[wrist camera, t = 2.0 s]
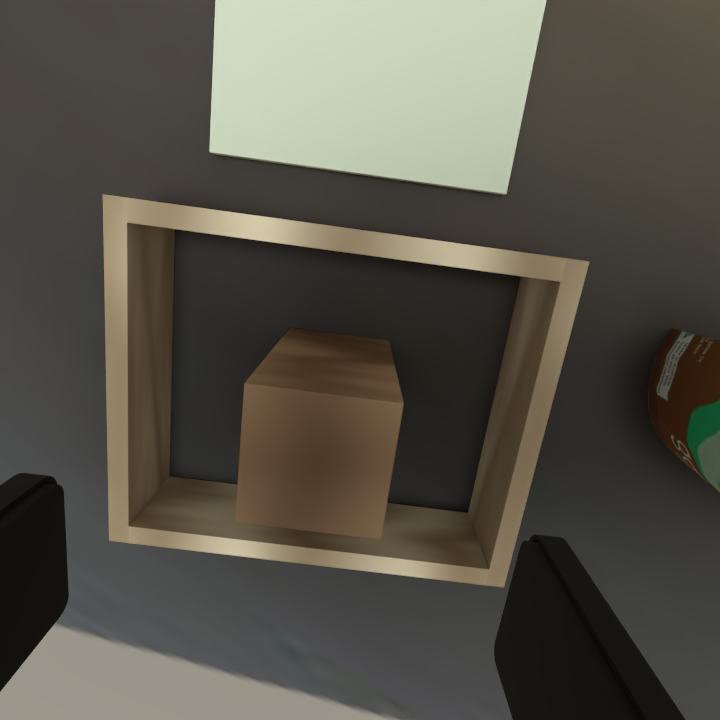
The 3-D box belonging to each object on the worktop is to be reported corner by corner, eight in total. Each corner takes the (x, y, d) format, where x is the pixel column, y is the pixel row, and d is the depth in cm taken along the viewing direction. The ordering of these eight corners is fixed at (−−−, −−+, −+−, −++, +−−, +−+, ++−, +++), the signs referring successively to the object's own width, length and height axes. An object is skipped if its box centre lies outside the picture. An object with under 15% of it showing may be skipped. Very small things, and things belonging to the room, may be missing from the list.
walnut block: (389, 340, 20) (404, 403, 13) (375, 431, 22) (381, 539, 14) (290, 327, 20) (244, 383, 13) (281, 419, 21) (234, 521, 14)
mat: (577, -172, 15) (584, -185, 15) (502, 195, 19) (506, 194, 18) (229, -229, 15) (225, -244, 15) (213, 154, 18) (209, 152, 18)
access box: (544, 256, 19) (589, 261, 15) (480, 528, 23) (503, 587, 19) (156, 202, 19) (102, 194, 15) (152, 488, 22) (109, 540, 19)
